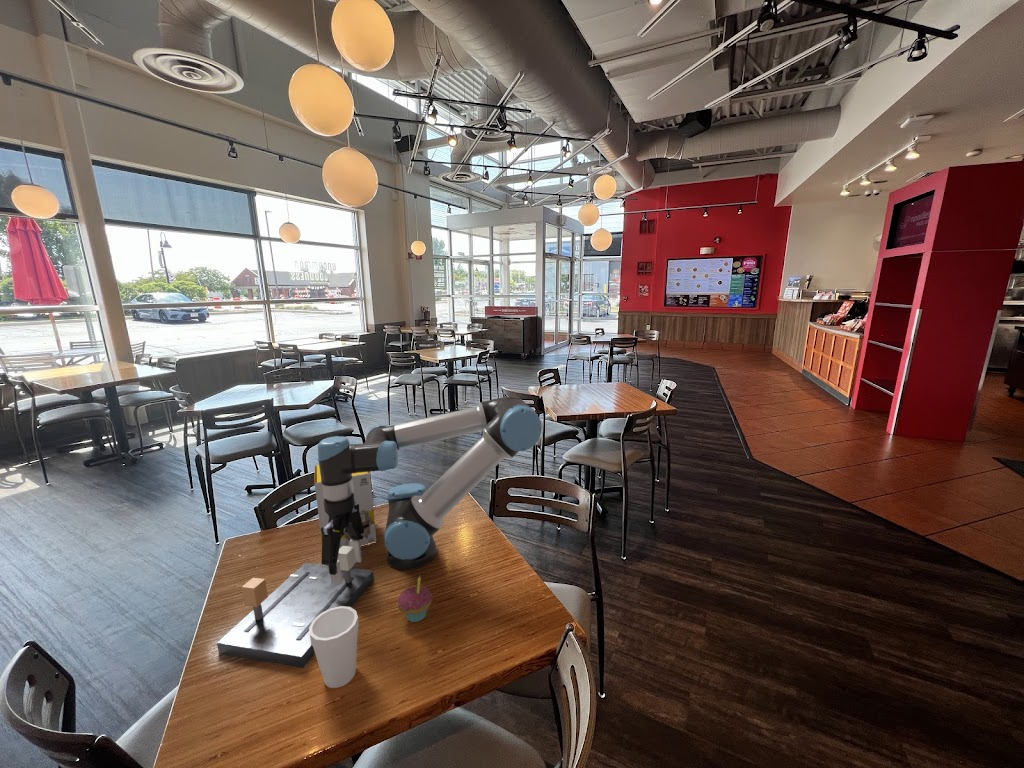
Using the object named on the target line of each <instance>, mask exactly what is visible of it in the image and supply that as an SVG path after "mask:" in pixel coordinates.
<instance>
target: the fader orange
mask: <svg viewBox="0 0 1024 768" xmlns="http://www.w3.org/2000/svg"><path fill="white" fill-rule="evenodd" d="M266 583H267V582H266V579H265V578H259V577H252V578H251V579H249V580H248V581H247V582H246V583H244V585H243V584H242V586H241V592H242V597H243V604H244V605H245V606H248V607H253V608H252V609H253V610H254V616H255V620H260V619H261V618H262V617H263V612H262V606H261V603H262V602H263V601H264V600H265V599H266V598H267V597H268V596H269V595H268V590H267V584H266ZM253 610H252V611H253Z"/></svg>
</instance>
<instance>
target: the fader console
mask: <svg viewBox="0 0 1024 768" xmlns="http://www.w3.org/2000/svg"><path fill="white" fill-rule="evenodd" d="M350 572H351V582H350V583H345V578H344V570H341V575H342V583H341V584H334V583H331V576H330V573H329V566H328V565H322V563H321V564H319V563H312V562H311V563H310V562H305V563H303V564H302V565H301V566H300V567H299V568H298V569H297V570H295V572H294V573H292V574H290V575H289V577H288V578H287V579H285V581H283V583H281V584H280V585H279V586H278V587H277V588H275V589H274V590H273V592H271V593H270V594H269V595H268V597H267V598H266V599H265V600H264V601H263V602H262V603H261V606H262V612H263V617H262V618H261V619H260V620H255V616H254V610H252V611H250V612H249V613H248V614H247V615H246V616H245V617H244V618H242V619H241V621H239V622H238V623H237V624H236V625H235V626H233V627H232V628H231V629H230V630H229V631H228V632H227V633H225V634H224V635H223V637H222V638H221V639H220V640H218V641H217V643H216V646H217V649H218V651H217V652H218V655H223V656H228V657H235V658H240V659H246V660H251V661H258V662H264V663H270V664H275V665H280V666H281V665H282V666H286V667H293V668H299V669H304V668H306V666H307V664H308V663H309V662H310V661H311V659H312V658H313V657H314V656H315V652H314V648H313V646H312V645H311V640H310V632H309V627H310V625H311V623H312V621H313V620H314V619H315V618H316V617H317V616H318V615H320V614H321V613H323V612H325V611H327V610H329V609H331V608H335V607H339V606H345V607H351V608H353V607H354V605H355V604H356V602H358V601H359V600H360V598H361V597H362V595H363V594H364V593H365V591H367V589H368V588H369V586H370V585H371V584H372V583H373V581H374V579H375V578H374V571H373V570H371V569H363V568H355V567H352V568H351V569H350ZM371 582H372V583H371Z"/></svg>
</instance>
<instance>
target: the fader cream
mask: <svg viewBox="0 0 1024 768" xmlns="http://www.w3.org/2000/svg"><path fill="white" fill-rule="evenodd" d="M338 560H340V567H341V570H344V578H345V583H350V582H351V572H350V569H351V568H354V567H353V566H355V564H356V563H357V562H355V553H354V547H350V546H342V547H341V548H340V549H339V553H338Z"/></svg>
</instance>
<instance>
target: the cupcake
mask: <svg viewBox="0 0 1024 768" xmlns="http://www.w3.org/2000/svg"><path fill="white" fill-rule="evenodd" d="M432 600H433V594H432V592H431V591H430V590H429V588H428V587H426V586H421V575H419V576H418V577H417V585H413V586H409V587H407V588H406V589H405V590H403V591H402V592H401V593H400V594H399V596H398V598H397V605H396V606H397V609H398V610H399V611H400V612H401V613H402V614H404V615H405V616H406V619H407V621H410V622H411V623H412V622H413V623H415V622H416V623H417V622H421V621H422V620H423V619H425V617H426V614H427V612H428V610H429V607H430V606H431V605H432V602H433V601H432Z"/></svg>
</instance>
